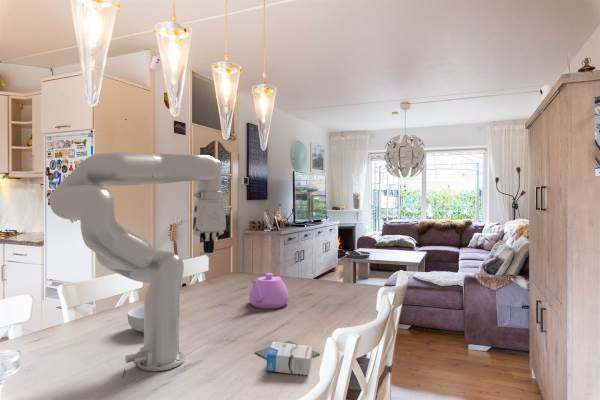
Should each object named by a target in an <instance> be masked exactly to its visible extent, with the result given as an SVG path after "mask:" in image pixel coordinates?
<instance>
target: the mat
mask: <svg viewBox="0 0 600 400" xmlns="http://www.w3.org/2000/svg"><path fill="white" fill-rule="evenodd" d="M283 343H289V344H297V345H299V344H298V343H296V342H293V341H291V340H287V341H284V342H283ZM270 347H271V346H268V347H265V348H262V349H259V350H256V351H254V353H255V354H256V355H258V356H259V357H261V358H263V359H266V360H267V353H268V351H269V349H270ZM317 355H318V356H320V355H321V353H319V352H317V351H314V350H312V357H313V358H315V357H314V356H316V357H318V356H317Z"/></svg>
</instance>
